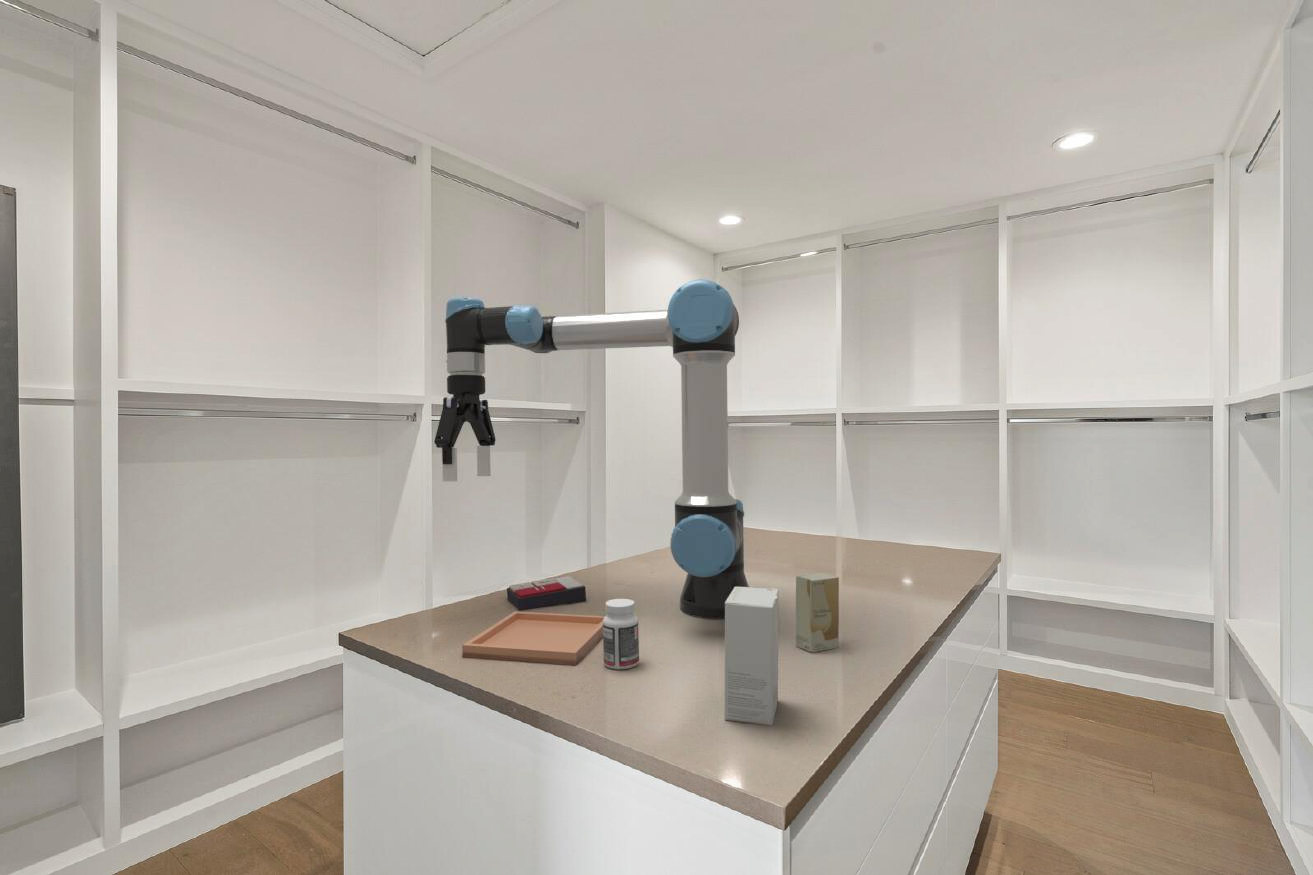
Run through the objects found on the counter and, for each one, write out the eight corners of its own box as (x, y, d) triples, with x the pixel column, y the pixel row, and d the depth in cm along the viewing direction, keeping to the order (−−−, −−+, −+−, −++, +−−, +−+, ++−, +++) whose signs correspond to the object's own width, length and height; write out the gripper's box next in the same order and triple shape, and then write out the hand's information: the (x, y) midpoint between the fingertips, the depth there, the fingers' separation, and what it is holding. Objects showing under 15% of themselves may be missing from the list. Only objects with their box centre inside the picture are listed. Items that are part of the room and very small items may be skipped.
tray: (611, 627, 121) (611, 616, 121) (575, 665, 102) (575, 652, 102) (514, 621, 126) (514, 611, 126) (462, 657, 106) (462, 645, 106)
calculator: (506, 584, 143) (569, 573, 150) (507, 603, 143) (571, 591, 150) (518, 595, 133) (585, 583, 140) (519, 615, 133) (587, 602, 140)
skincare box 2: (811, 654, 106) (811, 580, 106) (794, 646, 110) (793, 575, 109) (840, 647, 109) (840, 576, 108) (823, 640, 112) (822, 571, 112)
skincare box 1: (734, 695, 90) (733, 585, 90) (781, 700, 88) (780, 588, 88) (723, 721, 82) (721, 600, 81) (775, 728, 80) (773, 604, 80)
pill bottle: (641, 658, 105) (640, 598, 105) (636, 671, 99) (635, 607, 99) (606, 657, 105) (606, 597, 105) (600, 670, 100) (599, 607, 100)
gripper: (479, 380, 143) (480, 474, 143) (413, 370, 119) (415, 483, 119) (510, 379, 142) (511, 474, 142) (450, 368, 117) (452, 483, 117)
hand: (467, 478), depth 130 cm, fingers open, 13 cm apart
